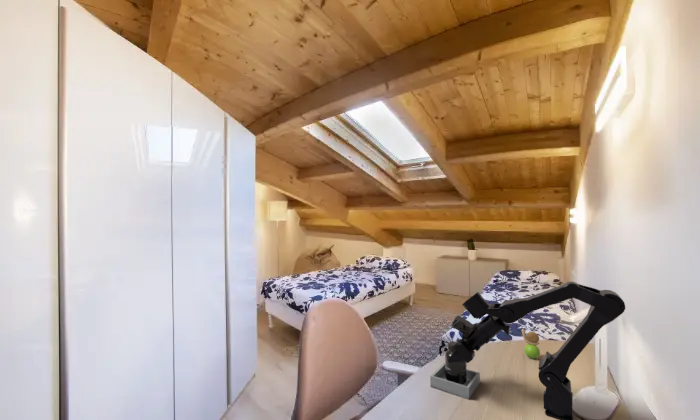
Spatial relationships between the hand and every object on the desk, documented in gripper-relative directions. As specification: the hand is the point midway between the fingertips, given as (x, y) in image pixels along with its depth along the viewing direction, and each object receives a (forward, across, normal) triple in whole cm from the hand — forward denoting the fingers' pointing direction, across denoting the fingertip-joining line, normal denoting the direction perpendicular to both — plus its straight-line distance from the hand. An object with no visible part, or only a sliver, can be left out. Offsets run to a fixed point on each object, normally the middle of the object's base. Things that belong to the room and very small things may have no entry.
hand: (451, 357), depth 107 cm
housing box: (+5, 0, +7) cm, 9 cm away
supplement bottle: (+4, 0, +6) cm, 7 cm away
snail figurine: (-8, -39, +21) cm, 45 cm away
